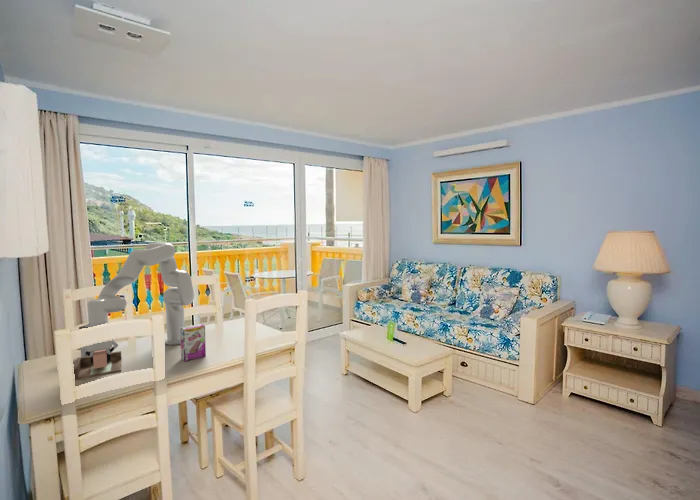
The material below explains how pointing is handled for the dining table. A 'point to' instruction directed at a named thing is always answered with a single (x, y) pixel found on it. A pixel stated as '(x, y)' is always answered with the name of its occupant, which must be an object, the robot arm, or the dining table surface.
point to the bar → (100, 359)
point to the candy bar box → (192, 342)
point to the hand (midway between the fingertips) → (100, 362)
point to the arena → (86, 368)
